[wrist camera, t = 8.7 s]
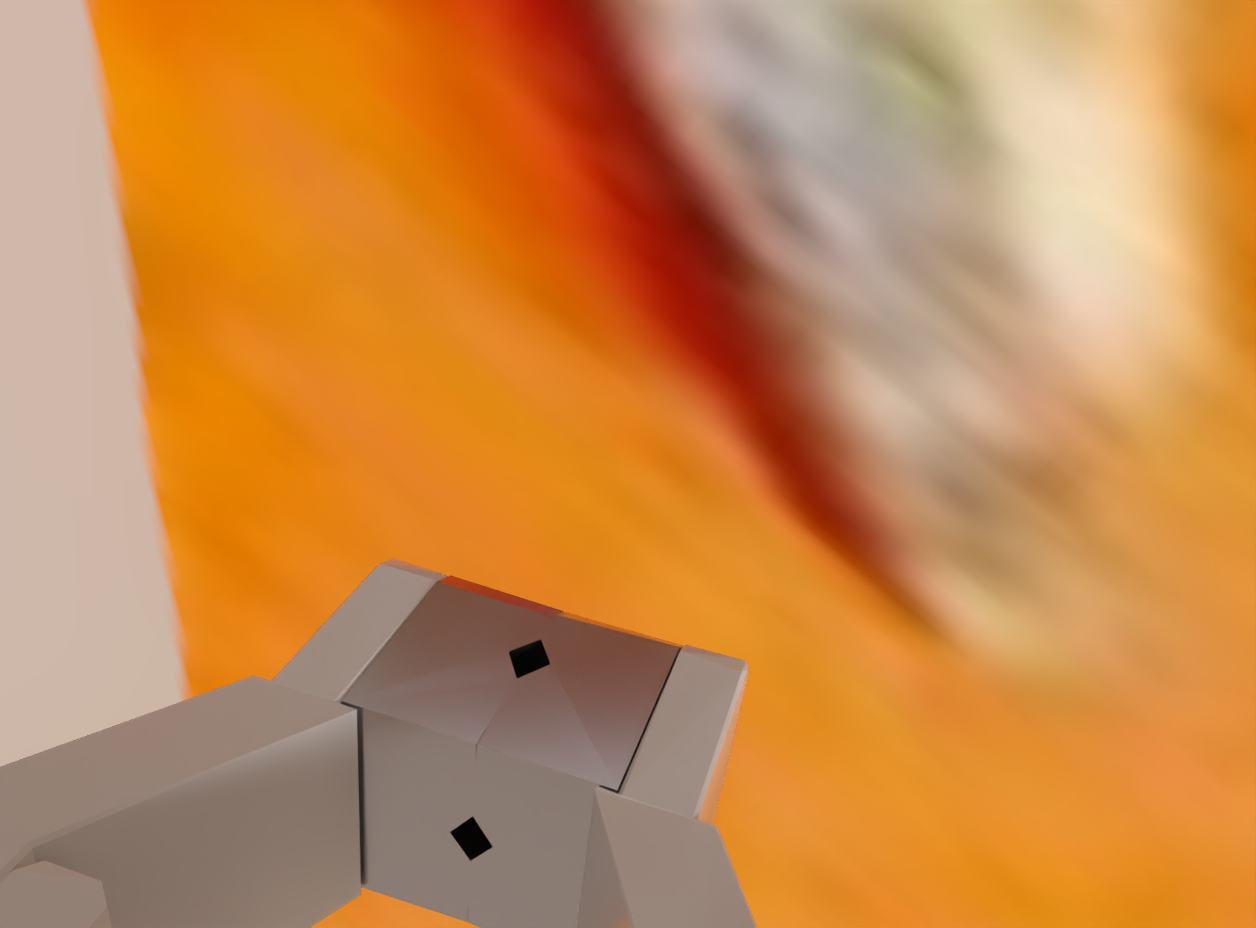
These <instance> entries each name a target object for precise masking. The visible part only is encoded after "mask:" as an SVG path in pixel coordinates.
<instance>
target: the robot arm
mask: <svg viewBox="0 0 1256 928" xmlns="http://www.w3.org/2000/svg"><path fill="white" fill-rule="evenodd" d="M748 668H749V667H748V664H747V662H746V661H744V660H740V659H737V658H733V657H729V656H725V655H722V654H718V653H714V652H711V651H707V650H703V649H699V648H696V647H692V646H688V645H685V646H682V645H679V644H675V643H672V642H668V641H665V640H661V639H658V638H654V637H651V636H647V635H644V634H640V633H637V632H633V631H630V630H626V629H623V628H619V627H616V626H612V625H609V624H605V623H602V622H598V621H595V620H591V619H588V618H584V617H581V616H577V615H574V614H570V613H567V612H565V613H564V611H561V610H558V609H555V608H551V607H548V606H545V605H542V604H539V603H536V602H532V601H529V600H526V599H523V598H520V597H517V596H514V595H510V594H507V593H504V592H501V591H498V590H495V589H491V588H488V587H485V586H482V585H479V584H476V583H473V582H469V581H466V580H463V579H460V578H457V577H454V576H449V577H448V576H446V575H443V574H441V573H438V572H434V571H431V570H428V569H425V568H422V567H419V566H415V565H412V564H409V563H406V562H403V561H399V560H396V559H392V560H389V561H386V562H384V563H381V564H379V565H378V566H376V567H375V568H374V570H373V571H372V572H371V573H370V574H369V575H368V576H367V577H366V578H365V579H364V580H363V581H362V583H361V584H360V585H359V586H358V587H357V588H356V589H355V590H354V591H353V592H352V593H351V595H350V596H349V597H348V598H347V599H346V600H345V601H344V602H343V603H342V604H341V605H340V607H339V608H338V609H337V610H336V611H335V612H334V613H333V614H332V615H331V616H330V617H329V619H328V620H327V621H326V622H325V623H324V624H323V625H322V626H321V627H320V628H319V629H318V630H317V632H316V633H315V634H314V635H313V636H312V637H311V638H310V639H309V640H308V641H307V642H306V644H305V645H304V646H303V647H302V648H301V649H300V650H299V651H298V652H297V653H296V654H295V656H294V657H293V658H292V659H291V660H290V661H289V662H288V663H287V664H286V665H285V666H284V668H283V669H282V670H281V671H280V672H279V673H278V674H277V675H276V676H275V677H274V678H273V680H272V681H269V680H266V679H262V678H259V677H256V676H252V677H249V678H246V679H243V680H240V681H238V682H235V683H232V684H229V685H227V686H224V687H221V688H218V689H215V690H213V691H210V692H207V693H204V694H202V695H199V696H196V697H193V698H190V699H188V700H185V701H182V702H179V703H177V704H174V705H171V706H168V707H165V708H163V709H160V710H157V711H154V712H152V713H149V714H146V715H143V716H140V717H138V718H135V719H132V720H129V721H126V722H124V723H121V724H118V725H115V726H112V727H110V728H107V729H104V730H102V731H99V732H96V733H93V734H90V735H87V736H85V737H82V738H79V739H76V740H73V741H71V742H68V743H65V744H62V745H60V746H57V747H54V748H51V749H48V750H46V751H43V752H40V753H37V754H35V755H32V756H29V757H26V758H23V759H21V760H18V761H16V762H12V763H9V764H7V765H4V766H1V767H0V928H310V927H311V926H313V925H314V924H316V923H317V922H319V921H321V920H322V919H324V918H325V917H327V916H328V915H330V914H331V913H333V912H334V911H336V910H338V909H339V908H341V907H342V906H344V905H345V904H347V903H348V902H350V901H351V900H353V899H355V898H356V897H358V896H359V895H361V887H363V888H366V889H369V890H372V891H375V892H378V893H381V894H384V895H387V896H390V897H393V898H396V899H399V900H402V901H405V902H408V903H411V904H414V905H417V906H420V907H423V908H426V909H430V910H433V911H436V912H439V913H442V914H445V915H448V916H451V917H454V918H457V919H460V920H463V921H466V922H467V921H468V923H471V924H474V925H476V926H479V927H481V928H757V926H756V924H755V921H754V919H753V916H752V914H751V911H750V908H749V906H748V903H747V901H746V898H745V896H744V893H743V890H742V888H741V885H740V883H739V880H738V878H737V875H736V872H735V870H734V867H733V865H732V862H731V860H730V857H729V854H728V852H727V849H726V847H725V844H724V842H723V839H722V836H721V834H720V831H719V829H718V827H717V826H714V825H713V821H714V817H715V813H716V809H717V805H718V801H719V797H720V793H721V789H722V785H723V781H724V777H725V773H726V769H727V765H728V760H729V756H730V751H731V747H732V743H733V738H734V734H735V730H736V725H737V721H738V716H739V712H740V708H741V703H742V699H743V694H744V690H745V686H746V681H747V675H748Z"/></svg>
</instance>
